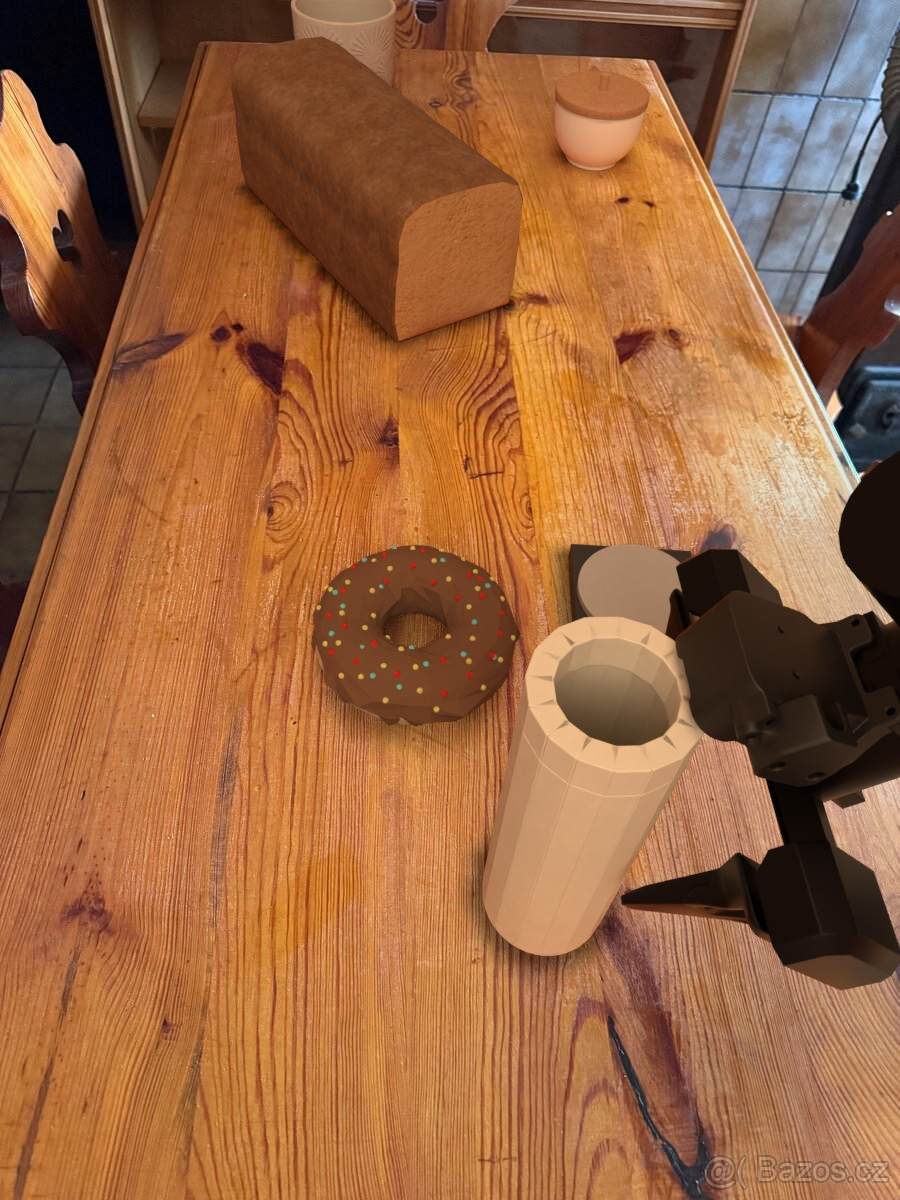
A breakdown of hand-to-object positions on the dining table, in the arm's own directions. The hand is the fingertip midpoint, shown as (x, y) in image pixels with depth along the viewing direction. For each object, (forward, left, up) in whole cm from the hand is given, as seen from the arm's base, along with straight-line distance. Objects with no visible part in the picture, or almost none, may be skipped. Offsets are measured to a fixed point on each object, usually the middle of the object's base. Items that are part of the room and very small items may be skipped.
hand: (610, 806), depth 42 cm
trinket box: (+77, -47, -12) cm, 91 cm away
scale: (+16, -15, -11) cm, 25 cm away
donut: (+19, +2, -12) cm, 22 cm away
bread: (+69, -15, -12) cm, 71 cm away
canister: (+1, +2, -11) cm, 12 cm away
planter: (+101, -25, -12) cm, 104 cm away
